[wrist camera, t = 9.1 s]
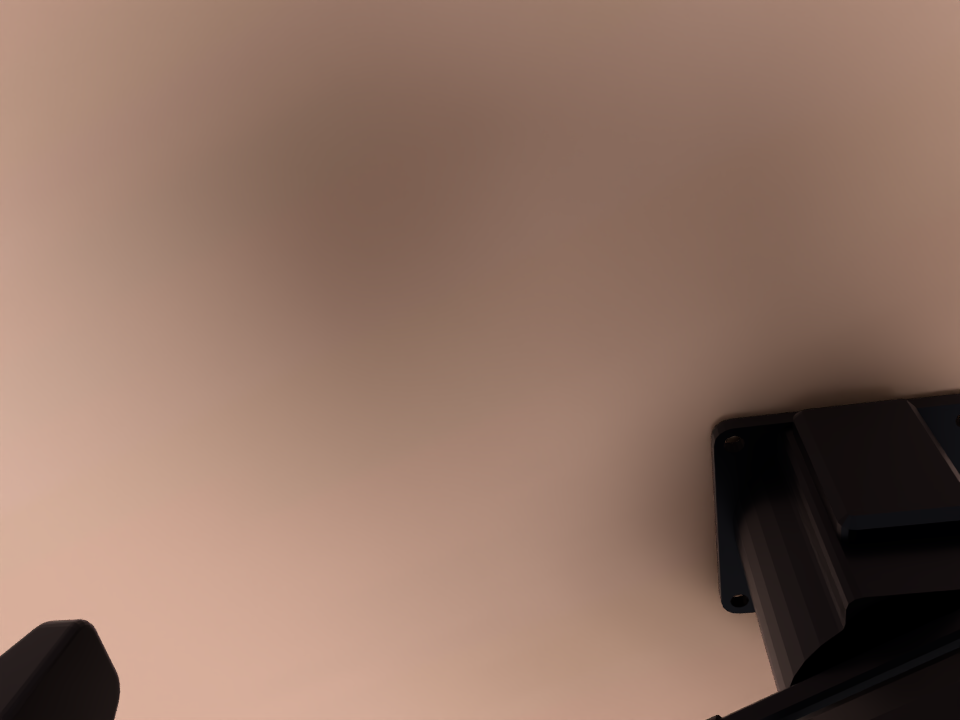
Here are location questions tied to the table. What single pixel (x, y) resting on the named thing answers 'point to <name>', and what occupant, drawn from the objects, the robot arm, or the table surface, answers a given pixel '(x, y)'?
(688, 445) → the table surface
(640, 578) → the table surface
